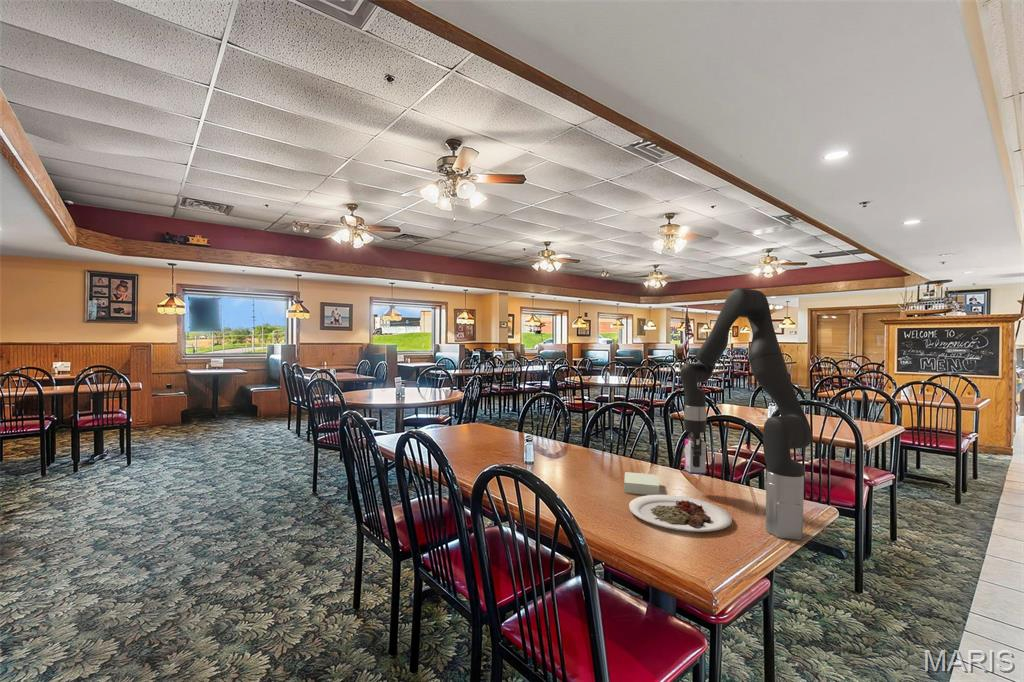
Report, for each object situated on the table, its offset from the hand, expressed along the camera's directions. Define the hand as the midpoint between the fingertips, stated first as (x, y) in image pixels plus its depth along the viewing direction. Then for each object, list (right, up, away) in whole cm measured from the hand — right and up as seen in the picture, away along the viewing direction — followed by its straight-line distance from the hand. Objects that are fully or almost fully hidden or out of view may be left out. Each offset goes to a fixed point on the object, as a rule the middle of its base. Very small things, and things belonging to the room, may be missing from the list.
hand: (694, 464), depth 165 cm
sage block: (-18, -10, +4) cm, 21 cm away
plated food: (-14, -10, -23) cm, 29 cm away
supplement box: (0, -3, 0) cm, 3 cm away
